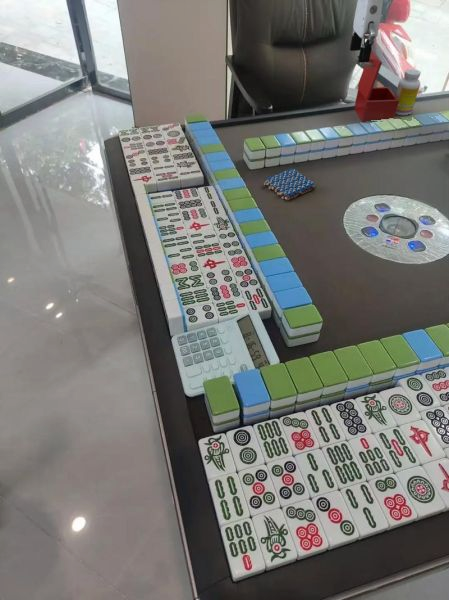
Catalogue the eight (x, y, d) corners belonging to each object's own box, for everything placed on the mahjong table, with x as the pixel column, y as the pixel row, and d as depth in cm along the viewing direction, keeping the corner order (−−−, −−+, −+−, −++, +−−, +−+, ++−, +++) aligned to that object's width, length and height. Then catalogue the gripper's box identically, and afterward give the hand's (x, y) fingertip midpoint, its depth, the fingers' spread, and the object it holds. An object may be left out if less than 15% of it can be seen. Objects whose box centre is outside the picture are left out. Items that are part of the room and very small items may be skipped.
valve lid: (372, 49, 135) (356, 47, 134) (382, 62, 128) (365, 60, 127) (359, 86, 143) (344, 84, 142) (368, 100, 136) (352, 98, 136)
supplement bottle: (415, 114, 145) (428, 74, 135) (397, 117, 144) (409, 76, 134) (404, 106, 149) (416, 66, 139) (387, 108, 148) (398, 68, 138)
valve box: (383, 106, 149) (389, 86, 144) (393, 121, 142) (399, 100, 137) (354, 107, 148) (358, 87, 143) (362, 122, 142) (366, 101, 137)
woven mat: (291, 172, 122) (292, 165, 121) (316, 189, 116) (317, 183, 115) (262, 184, 118) (262, 177, 117) (286, 203, 112) (287, 196, 111)
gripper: (395, -4, 113) (379, 66, 125) (376, -21, 124) (363, 45, 137) (367, -3, 112) (354, 67, 125) (350, -19, 124) (340, 46, 137)
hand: (358, 56), depth 131 cm, fingers open, 9 cm apart
